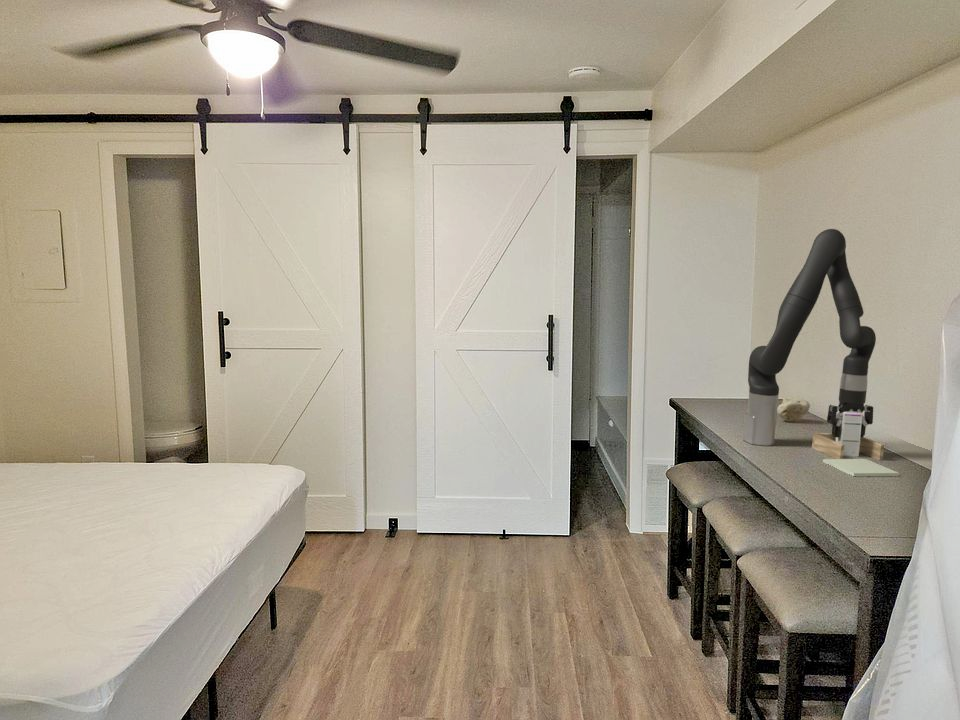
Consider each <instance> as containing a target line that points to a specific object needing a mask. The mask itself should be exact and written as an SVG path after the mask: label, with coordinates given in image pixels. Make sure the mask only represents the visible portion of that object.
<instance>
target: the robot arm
mask: <svg viewBox="0 0 960 720" xmlns="http://www.w3.org/2000/svg"><path fill="white" fill-rule="evenodd" d="M846 247H847V241H846V238H845V235H844V234H843V233H842V232H841V231H840V230H838V229H836V228H827V229H824V230H823V231H821V232H820V233H819V234H817V235H816V236H815V238H814V240H813V242H812V246H811V249H810V250H809V253H808V255H807V258H806V260H805V262H804V265H803V267H802V268H801V270H800V272H799V273H798V274H797V276H796V278H795V279H794V281H793V283H792V284H791V286H790V288H789V290H788V291H787V293H786V294H785V297H784V298H783V300H782V303H781V304H780V307H779V309H778V315H777V320H776V326H775V329H774V332H773V334H772V336H771V338H770V339H769V341H768V343H767V344H766V345H760V346H757V347H755V348H754V349H753V350H752V351H751V352H750V356H749V360H748V374H747V375H748V376H747V382H748V386H749V388H748V389H749V390H748V401H747V412H746V413H744V420H743V432H742V440H743V441H744V442H746V443H747V444H750V445H757V446H774V445H775V439H776V438H775V437H776V436H775V435H776V427H777V418H778V417H777V415H778V413H777V408H778V406H779V395H780V394H779V393H780V386H779V384H778V382H777V377H776V376H777V374H779V373H780V372H781V371H782V370H783V369H784V368H785V366H786V363H787V362H788V359H789V356H790V354H791V351H792V349H793V346H794V345H795V342H796V340H797V338H798V336H799V334H800V333H801V331H802V329H803V327H804V325H805V323H806V322H807V320H808V318H809V316H811V313H812V310H813V309H814V307H815V305H816V304H817V301H818V299H819V297H820V294H821V292H822V288H823V285H824V281H825V279H826V276H827V278H828V282H829V285H830V286H829V287H830V290H831V294H832V298H833V302H834V304H835V307H836V308H835V309H836V311H837V315H838V317H839V320H838V323H839V325H838V326H839V336H840V339H841V341H842V343H843V345H845V346H846V347H847V348H849V349H850V353H849V354H848V355H846V356H844V359H843V364H842V372H841V377H840V383H839V390H838V391H839V392H838V402H839V403H838V405H833V404H829V405H828V411H827V417H826V422H827V423H828V424H831V426H832V427H831V433H832V435H833V436H834V437H839V432H840V424H841V423H842V421H843V417H840V414H841V413H843V412H853V411H856V412H861V413H862V425H861V436H860V437H864V436H865V435H866V429H867V426H868V425H873V422H874V421H873V420H874V406H872V405H868V404H865V403H866V400H867V399H866V398H867V392H868V391H867V389H868V373H869V361H870V359H871V357H872V354H873V351H874V349H875V346H876V342H877V341H876V340H877V337H876V333H875V331H874V329H873V328H872V327H870V326H867V325H861V320H860V318H861V317H863V315H864V308H863V304H862V302H861V299H860V296H859V292H858V290H857V287H856V285H855V283H854V281H853V279H852V277H851V274H850V269H849V267H848V262H847V254H846V249H847V248H846ZM838 410H839V412H838ZM863 413H864V415H863Z"/></svg>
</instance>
